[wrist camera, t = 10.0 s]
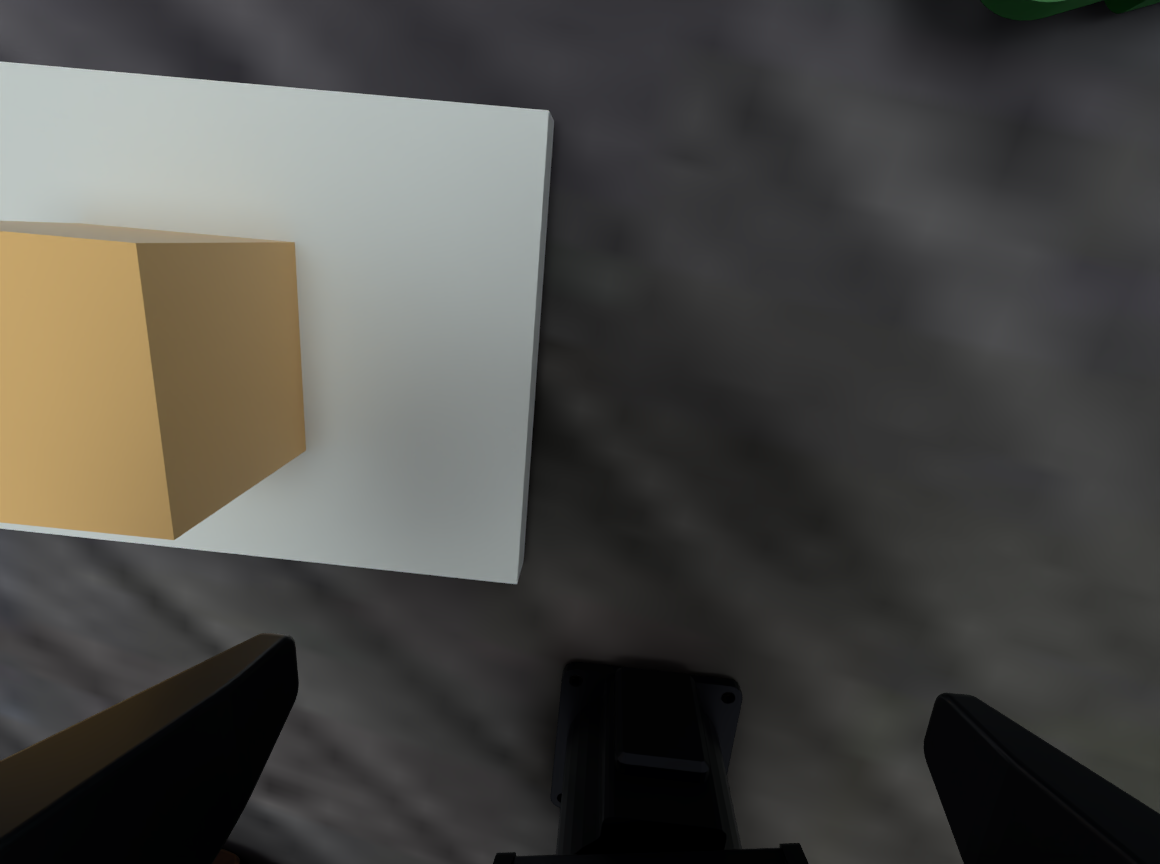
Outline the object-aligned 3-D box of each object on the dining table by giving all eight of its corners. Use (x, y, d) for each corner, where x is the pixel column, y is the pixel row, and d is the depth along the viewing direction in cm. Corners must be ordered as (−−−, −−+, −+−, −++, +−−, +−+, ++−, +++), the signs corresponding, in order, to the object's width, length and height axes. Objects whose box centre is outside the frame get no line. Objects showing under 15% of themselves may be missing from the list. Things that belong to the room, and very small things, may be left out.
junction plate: (523, 561, 22) (494, 664, 16) (-31, 502, 22) (-233, 583, 17) (554, 121, 17) (528, 69, 12) (-132, 59, 18) (-443, -16, 13)
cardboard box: (306, 450, 19) (174, 540, 13) (111, 431, 19) (-102, 511, 14) (295, 242, 17) (135, 243, 12) (79, 223, 17) (-184, 214, 12)
